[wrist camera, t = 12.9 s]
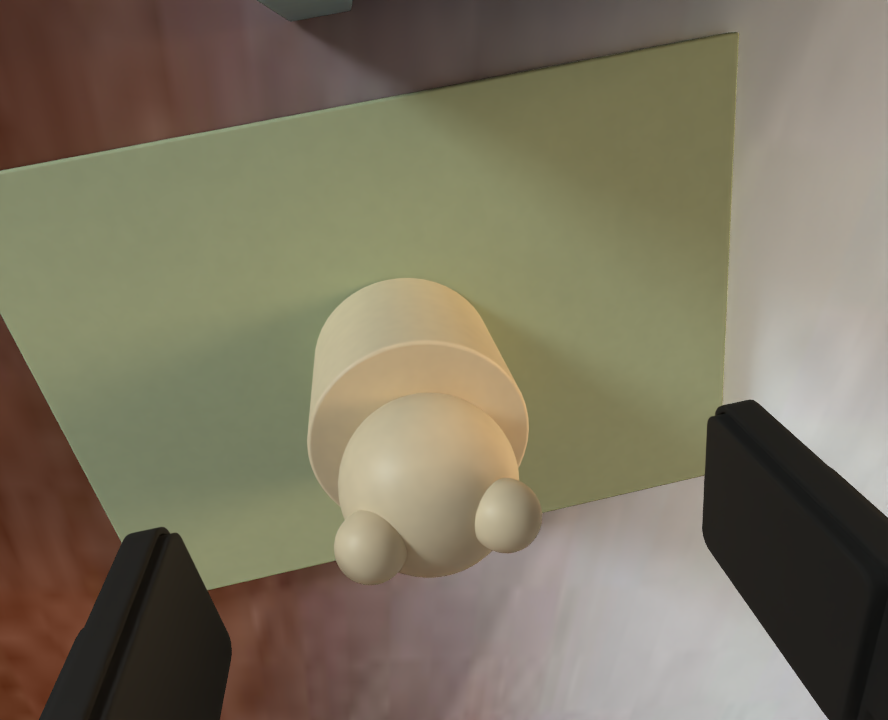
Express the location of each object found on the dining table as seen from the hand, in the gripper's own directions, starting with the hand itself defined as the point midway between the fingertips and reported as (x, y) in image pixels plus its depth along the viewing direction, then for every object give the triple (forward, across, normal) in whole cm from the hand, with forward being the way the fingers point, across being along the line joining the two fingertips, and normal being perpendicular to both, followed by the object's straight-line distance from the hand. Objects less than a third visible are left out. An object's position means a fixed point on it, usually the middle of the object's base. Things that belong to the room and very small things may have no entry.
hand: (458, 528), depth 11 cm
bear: (+8, 0, +1) cm, 8 cm away
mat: (+9, 0, +1) cm, 9 cm away
